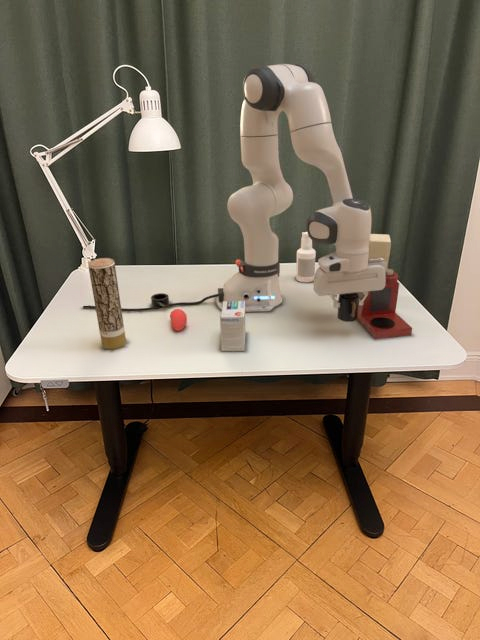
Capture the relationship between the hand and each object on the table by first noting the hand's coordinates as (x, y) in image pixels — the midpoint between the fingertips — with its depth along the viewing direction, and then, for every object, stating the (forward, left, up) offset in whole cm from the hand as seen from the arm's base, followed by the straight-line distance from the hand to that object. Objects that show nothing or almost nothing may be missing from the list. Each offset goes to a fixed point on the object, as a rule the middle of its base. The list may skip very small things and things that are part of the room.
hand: (347, 306), depth 138 cm
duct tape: (-53, +32, -8) cm, 63 cm away
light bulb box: (-33, +2, -9) cm, 34 cm away
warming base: (+12, 0, -9) cm, 15 cm away
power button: (+15, +8, +5) cm, 18 cm away
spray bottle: (+1, +44, -9) cm, 45 cm away
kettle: (0, 0, -4) cm, 4 cm away
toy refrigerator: (+19, +23, -9) cm, 31 cm away
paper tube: (-67, +8, -9) cm, 68 cm away
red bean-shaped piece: (-48, +16, -9) cm, 51 cm away
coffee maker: (+12, +8, -9) cm, 17 cm away
